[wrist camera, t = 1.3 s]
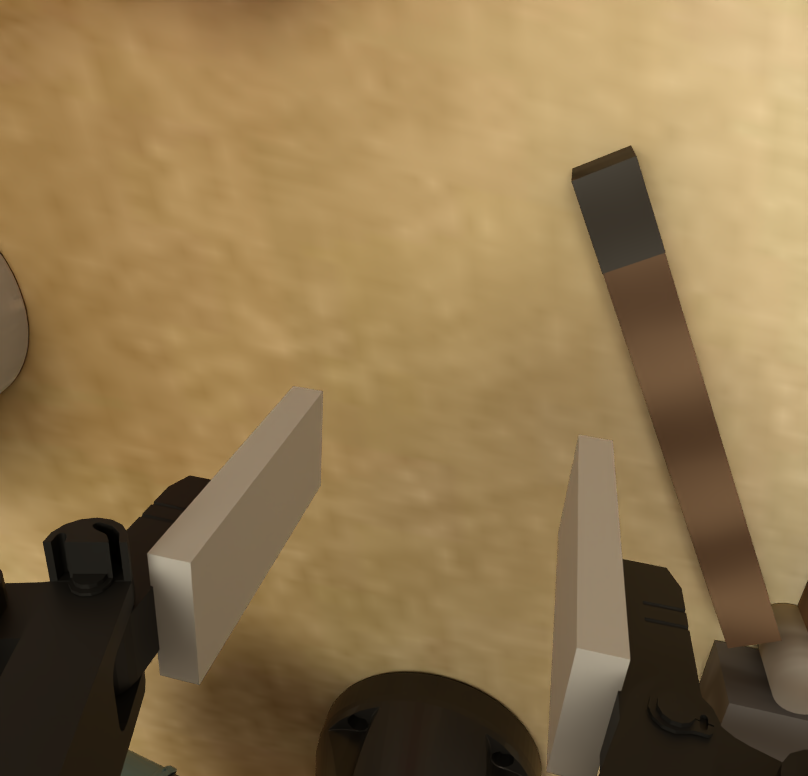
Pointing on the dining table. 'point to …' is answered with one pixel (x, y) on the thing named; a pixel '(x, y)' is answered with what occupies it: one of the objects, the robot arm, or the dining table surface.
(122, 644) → the robot arm
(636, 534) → the dining table surface
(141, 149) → the dining table surface
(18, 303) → the utensil holder
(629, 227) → the bar
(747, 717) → the base
